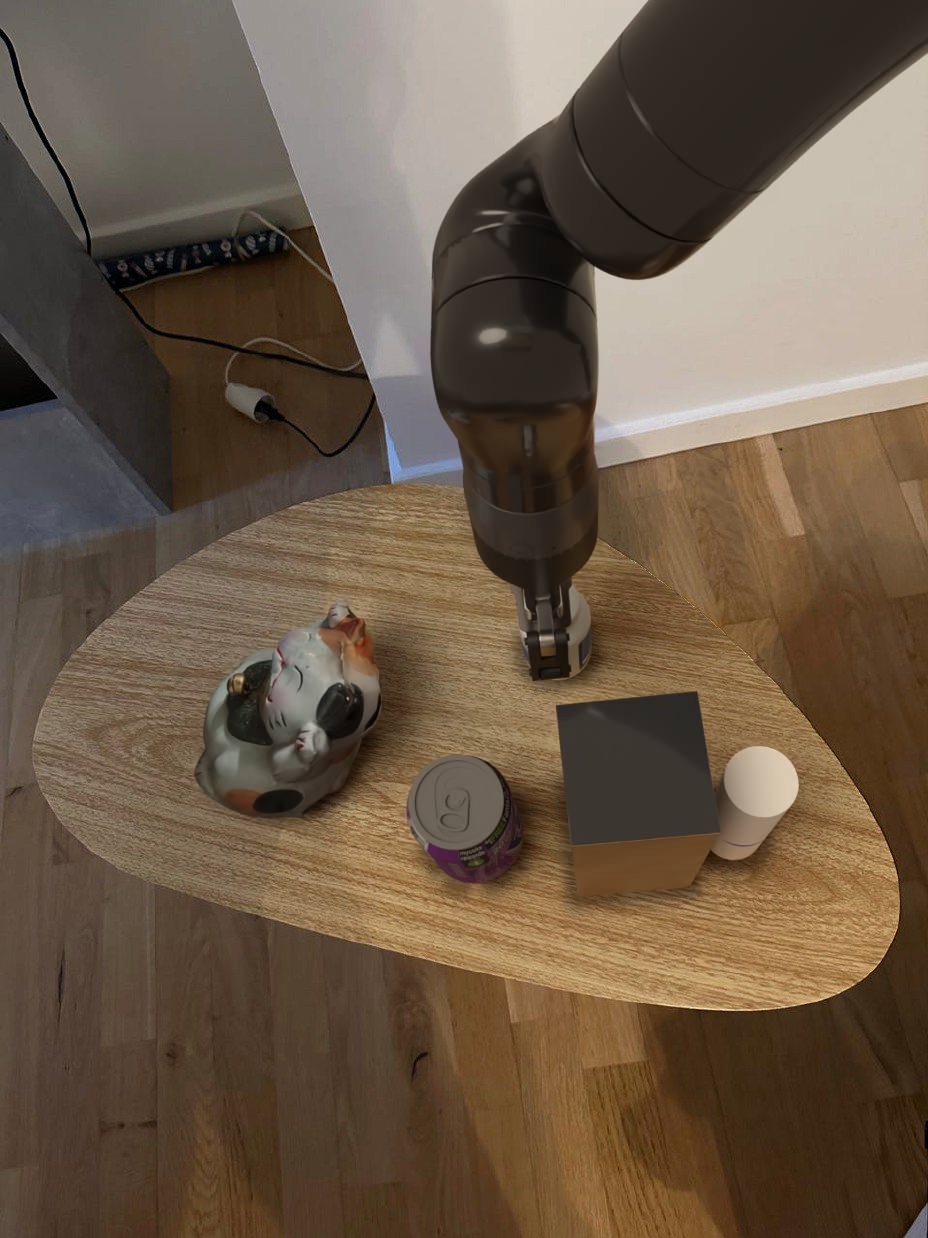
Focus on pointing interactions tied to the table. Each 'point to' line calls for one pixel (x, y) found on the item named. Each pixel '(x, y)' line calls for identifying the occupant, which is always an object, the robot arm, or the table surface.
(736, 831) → the tube
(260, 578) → the table surface
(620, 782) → the slate coaster
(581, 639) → the pill bottle
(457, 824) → the beverage can
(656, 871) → the walnut plinth
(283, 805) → the lucky cat figurine
